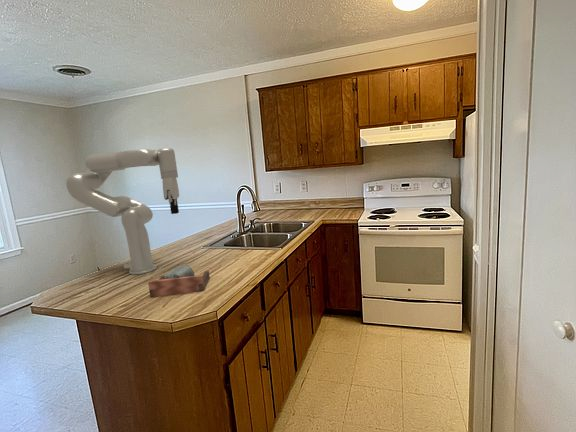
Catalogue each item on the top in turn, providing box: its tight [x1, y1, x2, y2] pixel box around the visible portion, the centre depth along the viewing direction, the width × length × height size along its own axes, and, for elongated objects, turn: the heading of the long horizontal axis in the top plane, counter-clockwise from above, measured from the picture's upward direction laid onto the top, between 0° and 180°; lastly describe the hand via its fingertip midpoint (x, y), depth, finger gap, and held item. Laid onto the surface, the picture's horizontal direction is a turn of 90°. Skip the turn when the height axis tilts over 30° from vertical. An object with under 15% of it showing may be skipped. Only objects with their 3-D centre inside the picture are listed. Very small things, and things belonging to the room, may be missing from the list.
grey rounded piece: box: [164, 264, 195, 279], centre depth 129 cm, size 14×10×10 cm
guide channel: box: [147, 270, 211, 298], centre depth 129 cm, size 20×15×6 cm
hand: (175, 213), depth 151 cm, fingers closed
